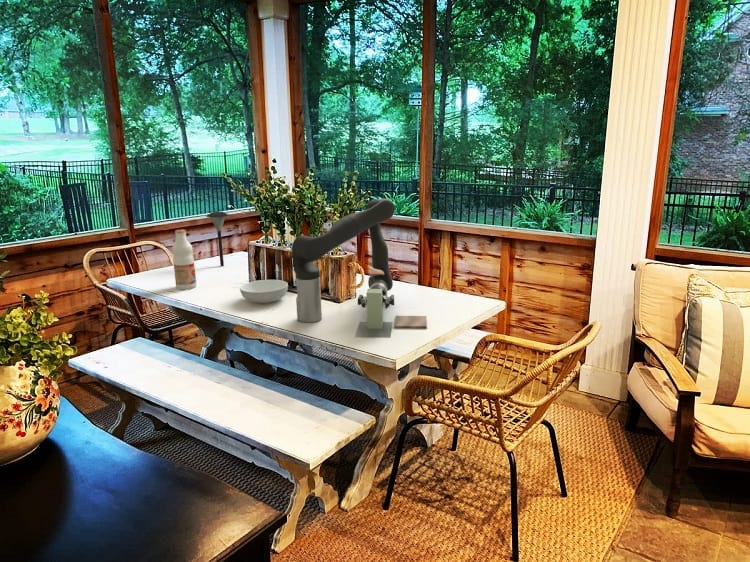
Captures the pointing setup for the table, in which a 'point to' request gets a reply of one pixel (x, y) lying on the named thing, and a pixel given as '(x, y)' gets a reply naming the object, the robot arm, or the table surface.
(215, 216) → the solar garden light
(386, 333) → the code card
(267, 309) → the table surface
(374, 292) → the sage block
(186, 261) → the fruit juice
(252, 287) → the serving bowl
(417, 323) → the walnut pad
